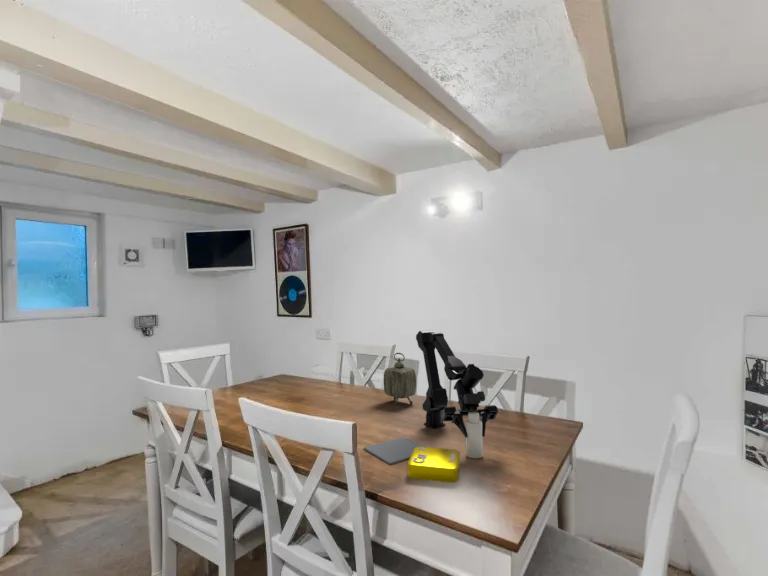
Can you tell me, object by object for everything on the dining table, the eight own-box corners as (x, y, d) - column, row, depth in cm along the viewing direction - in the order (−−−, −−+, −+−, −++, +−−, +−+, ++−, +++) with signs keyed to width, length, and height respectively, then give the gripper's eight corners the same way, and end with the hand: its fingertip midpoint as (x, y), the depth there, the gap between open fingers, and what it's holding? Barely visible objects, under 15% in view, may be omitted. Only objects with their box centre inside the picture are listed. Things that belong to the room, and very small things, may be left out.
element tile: (457, 484, 117) (457, 467, 117) (406, 479, 121) (406, 463, 121) (460, 462, 132) (460, 448, 132) (414, 458, 135) (414, 444, 135)
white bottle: (473, 450, 140) (473, 409, 140) (486, 455, 135) (485, 413, 135) (462, 454, 137) (461, 412, 137) (474, 459, 132) (474, 417, 132)
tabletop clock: (416, 404, 198) (415, 353, 198) (404, 408, 191) (403, 355, 191) (394, 399, 207) (393, 350, 208) (382, 402, 201) (381, 352, 201)
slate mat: (404, 437, 153) (404, 436, 153) (432, 451, 140) (432, 449, 140) (363, 448, 143) (363, 447, 143) (390, 464, 130) (390, 463, 130)
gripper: (443, 383, 139) (451, 426, 128) (496, 382, 141) (508, 424, 130) (438, 400, 147) (446, 441, 136) (488, 398, 149) (500, 439, 138)
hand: (475, 436), depth 135 cm, fingers closed on white bottle, 6 cm apart
